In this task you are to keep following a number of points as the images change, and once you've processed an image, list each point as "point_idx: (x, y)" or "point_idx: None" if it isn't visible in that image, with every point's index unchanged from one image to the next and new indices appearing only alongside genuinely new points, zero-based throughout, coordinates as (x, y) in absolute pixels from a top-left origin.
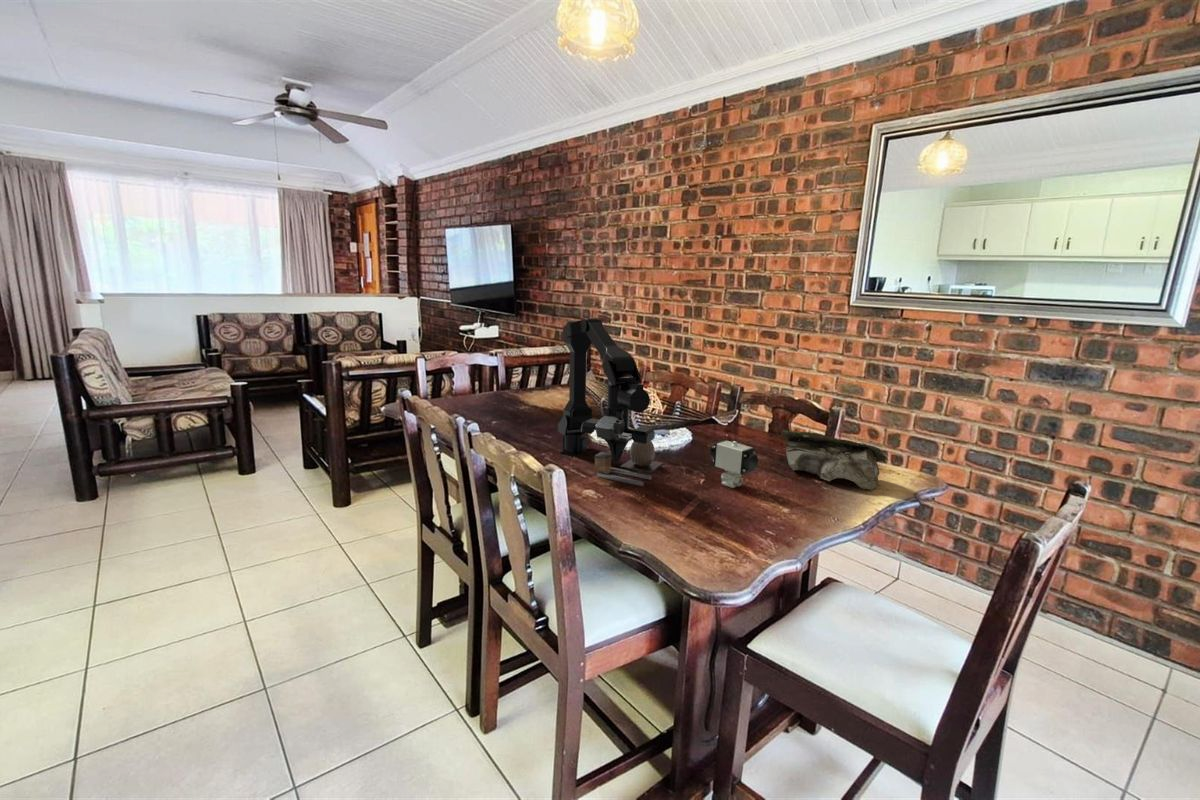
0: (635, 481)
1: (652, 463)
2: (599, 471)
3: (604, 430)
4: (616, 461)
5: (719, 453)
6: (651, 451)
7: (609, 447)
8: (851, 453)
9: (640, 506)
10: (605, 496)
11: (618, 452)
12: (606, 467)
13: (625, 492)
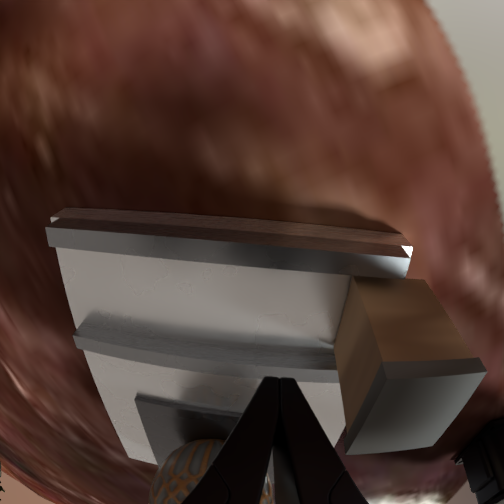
0: (85, 230)
1: None
2: (398, 290)
3: None
4: (267, 381)
5: None
6: (149, 500)
7: (361, 499)
8: None
9: (17, 25)
10: (226, 4)
11: (226, 458)
12: (357, 332)
13: (137, 134)
